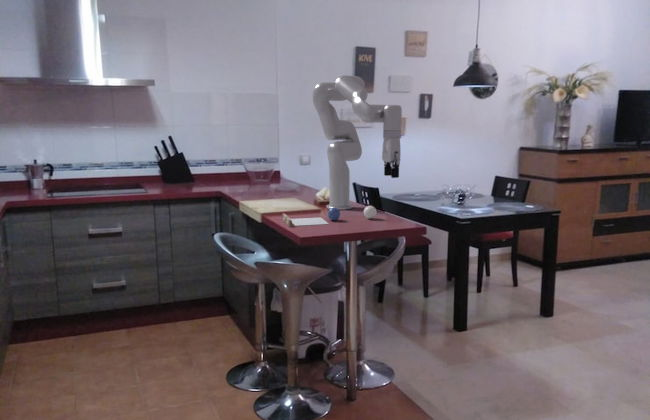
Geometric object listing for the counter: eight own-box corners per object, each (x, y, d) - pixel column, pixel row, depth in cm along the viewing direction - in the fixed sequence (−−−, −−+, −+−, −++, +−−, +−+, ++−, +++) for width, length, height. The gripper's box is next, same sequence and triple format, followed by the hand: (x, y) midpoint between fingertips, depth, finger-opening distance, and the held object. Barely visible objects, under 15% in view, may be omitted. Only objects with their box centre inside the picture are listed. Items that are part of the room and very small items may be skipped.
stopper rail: (282, 219, 228) (282, 213, 227) (284, 219, 228) (284, 213, 228) (289, 226, 213) (289, 220, 212) (292, 226, 213) (291, 220, 212)
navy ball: (325, 219, 227) (325, 206, 226) (338, 218, 229) (338, 206, 228) (329, 222, 222) (329, 209, 221) (342, 221, 223) (342, 208, 222)
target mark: (288, 219, 228) (288, 219, 227) (320, 217, 231) (320, 217, 231) (295, 226, 214) (295, 225, 214) (329, 224, 218) (329, 223, 218)
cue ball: (361, 217, 231) (361, 205, 230) (373, 217, 232) (374, 204, 231) (365, 220, 226) (366, 207, 225) (378, 219, 227) (378, 206, 226)
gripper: (376, 134, 233) (376, 174, 236) (391, 135, 216) (390, 179, 219) (392, 134, 234) (392, 174, 237) (408, 135, 218) (407, 178, 221)
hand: (391, 176), depth 228 cm, fingers open, 7 cm apart
